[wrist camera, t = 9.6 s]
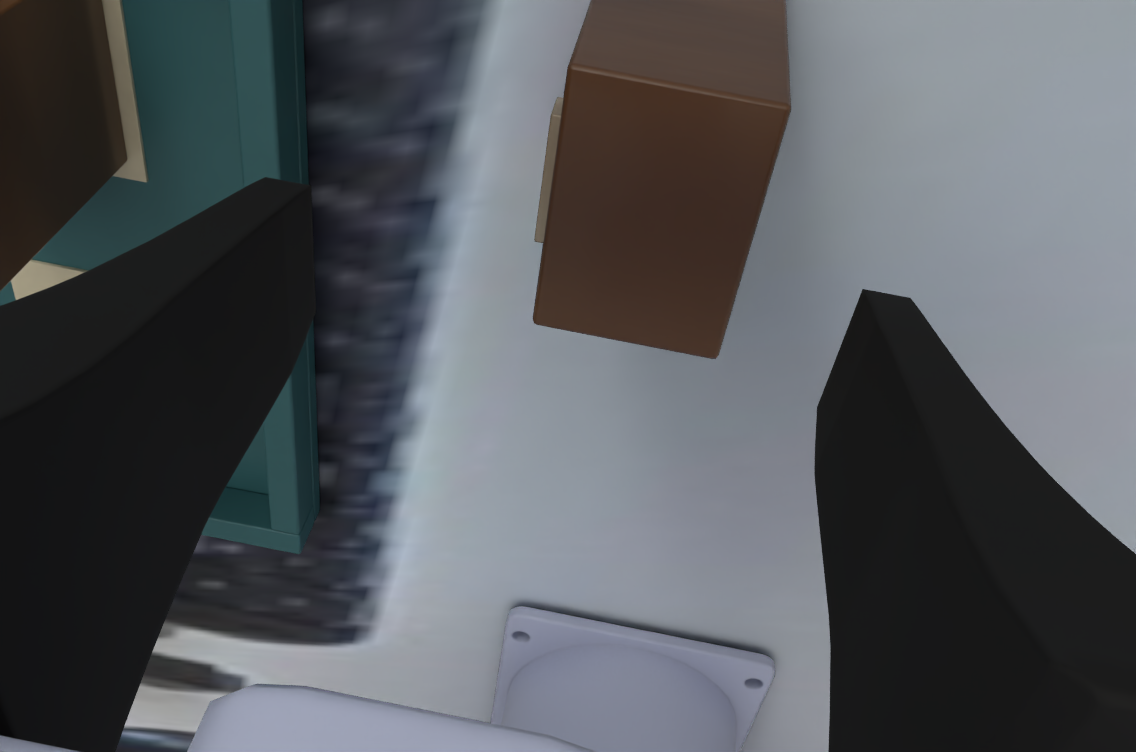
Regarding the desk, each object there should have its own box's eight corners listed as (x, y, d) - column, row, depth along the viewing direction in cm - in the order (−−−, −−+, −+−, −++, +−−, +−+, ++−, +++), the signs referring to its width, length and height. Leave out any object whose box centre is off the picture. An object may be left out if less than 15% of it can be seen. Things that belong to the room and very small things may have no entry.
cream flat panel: (188, 443, 28) (186, 445, 28) (49, 415, 28) (47, 418, 28) (111, -67, 19) (109, -65, 19) (-89, -105, 19) (-92, -104, 19)
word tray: (320, 509, 29) (300, 555, 28) (-43, 436, 30) (-80, 479, 28) (298, -171, 18) (262, -146, 17) (-294, -280, 18) (-374, -264, 17)
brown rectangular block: (726, 176, 21) (717, 362, 16) (571, 147, 21) (518, 323, 17) (785, -44, 18) (792, 106, 14) (605, -77, 18) (552, 61, 14)
